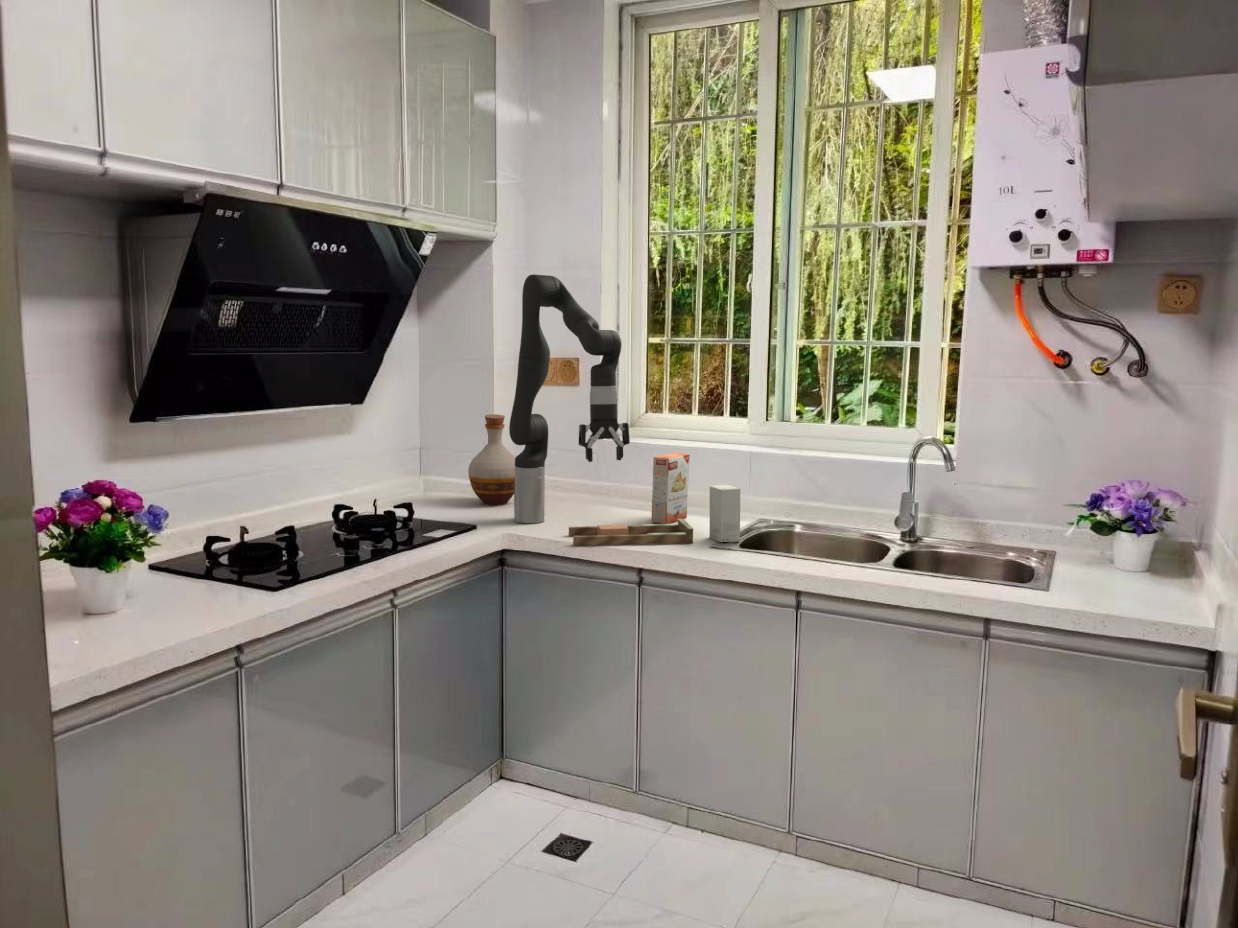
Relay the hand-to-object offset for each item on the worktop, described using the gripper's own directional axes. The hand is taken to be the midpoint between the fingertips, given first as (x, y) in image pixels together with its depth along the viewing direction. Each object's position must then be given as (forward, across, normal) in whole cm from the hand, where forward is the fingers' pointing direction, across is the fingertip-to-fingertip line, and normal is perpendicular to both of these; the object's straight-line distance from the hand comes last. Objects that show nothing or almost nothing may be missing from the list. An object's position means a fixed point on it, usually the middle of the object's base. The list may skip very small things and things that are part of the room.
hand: (604, 460), depth 258 cm
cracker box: (+22, -30, -24) cm, 44 cm away
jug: (+19, +16, -67) cm, 71 cm away
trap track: (+23, -9, -4) cm, 25 cm away
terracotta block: (+24, -4, -5) cm, 24 cm away
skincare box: (+24, -34, +5) cm, 42 cm away
